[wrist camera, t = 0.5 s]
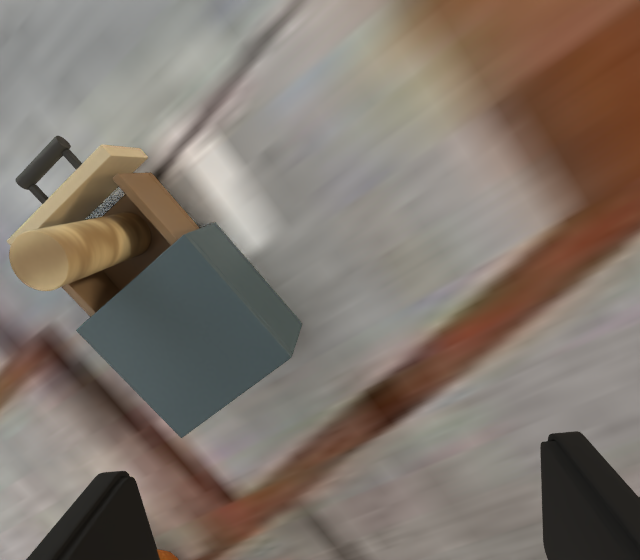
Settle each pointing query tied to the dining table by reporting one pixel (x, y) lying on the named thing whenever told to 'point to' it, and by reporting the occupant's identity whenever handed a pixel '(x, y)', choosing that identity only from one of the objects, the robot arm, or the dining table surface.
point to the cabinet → (194, 329)
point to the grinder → (77, 249)
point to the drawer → (88, 193)
